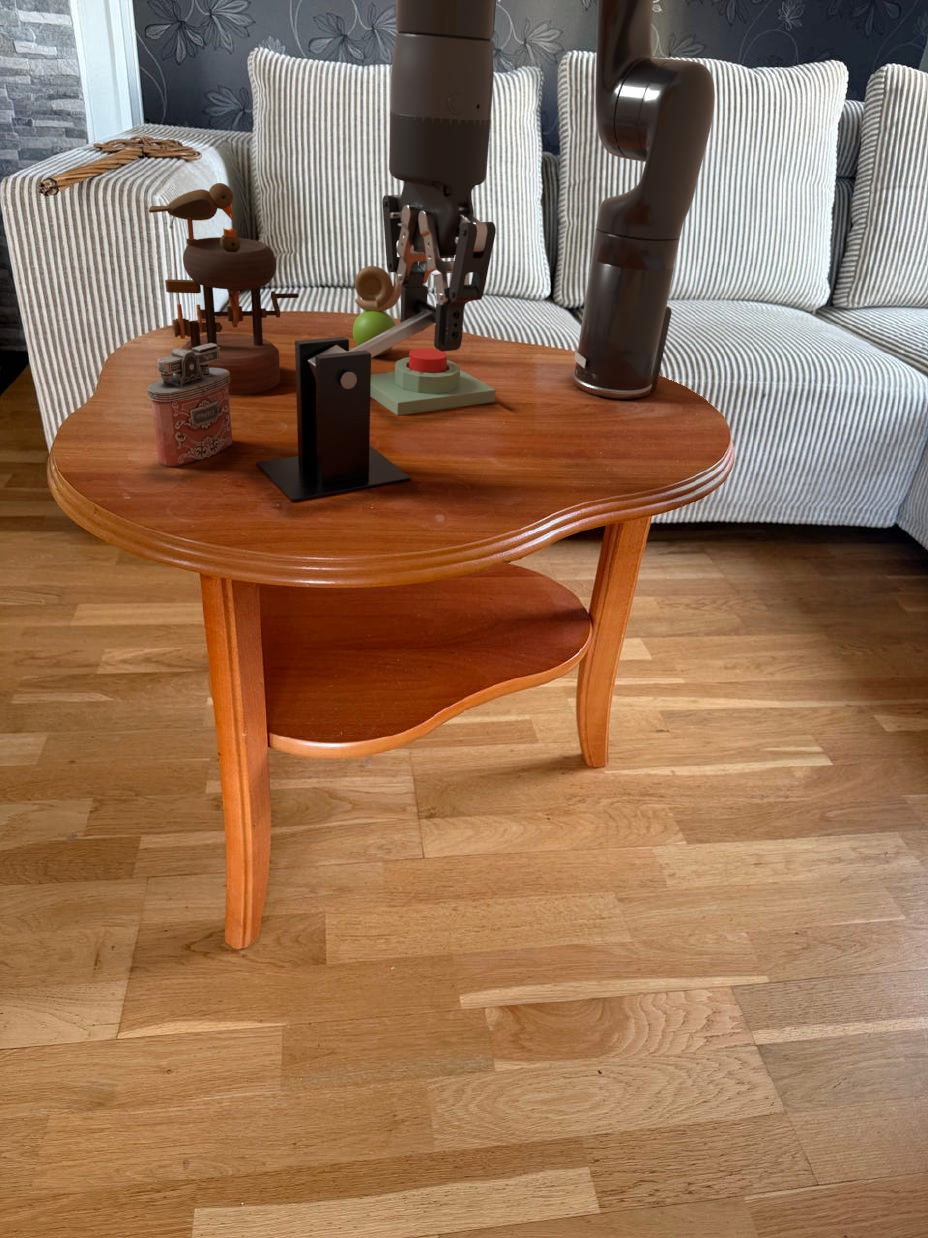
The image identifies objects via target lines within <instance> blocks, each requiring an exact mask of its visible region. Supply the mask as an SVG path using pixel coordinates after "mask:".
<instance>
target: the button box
mask: <svg viewBox="0 0 928 1238" xmlns="http://www.w3.org/2000/svg"><path fill="white" fill-rule="evenodd" d="M496 392H497V390H496V389H495V388H493V387H491V386H489V385H488V384H486V383H485V382H483V381H481V380H479V379H477V378H476V377H474V376H472V375H470V374H469V373H467V372H465V371H464V370H462V369H461V366H460V365H459V364H457V363H455V362H454V361H452V360H448V359H447V367H446V371H445V372H441V373H422V372H418V371H414V370H411V369H409V356H407V357H403V358H401V359H398V360H396V361H395V365H394V371H388V372H380V373H371V392H370V398H372V399H373V400H374V401H376V402H377V403H379V404H381V405H382V406H383V407H385V408H386V409H388V410H389V411H390V412H391V413H393V414H395V415H396V416H403V415H404V416H405V415H411V414H418V413H425V412H432V411H439V410H446V409H454V408H460V407H466V406H474V405H475V406H476V405H482V404H488V403H495V402H496Z"/></svg>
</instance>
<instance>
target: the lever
mask: <svg viewBox="0 0 928 1238" xmlns="http://www.w3.org/2000/svg"><path fill="white" fill-rule="evenodd" d="M413 309H414V312H415V313H416V314H417V315H415V316H413V317H411V318H409V319H407V320H406V321H404V322H402V323H400V322H399V323H398V324H395V325H396V326H394V327H393V328H391V329H389V330H387V331H385V332H383V333H381V334H380V335H378V336H376V337H374V338H372V339H370V340H368V341H366V342H365V343H363V344H361V345H359V346H357V345H356V346H355V347H354V348H353V347H352V348H351V349H349V351H348V352H353V351H363V350H366V351H368V352H369V353H371V359H372V358H374V357H376V355H378V354H380V353H382V352H383V351H385V350H387V349H389V348H391V347H392V348H393V347H394V346H397V345H398V344H400V343H402V342H404V341H405V340H407V339H410V338H411V337H413V336H415V335H416V334H418V333H420V332H423V331H425V330H426V329H428V328H429V327H431V326H433V325H435V317H436V306H435V305H432V304H431V303H428V302H427V303H426V302H424V301H422V300H418V301H417V302H415V304H414V307H413ZM422 330H423V331H422ZM392 348H391V349H392ZM343 352H347V351H345V350H344V349H342V348H341V347H339V346H338V345H335V346H333V347H332V348H330V349H328V350H326V351H324V352H322V353H320V354H318V355H323V354H333V353H343ZM378 356H379V355H378ZM308 363H309V365H310V368H311V370H312V372H313V375H314V377H315V380H316V364H315V357H313V358H311V359H309V360H308Z"/></svg>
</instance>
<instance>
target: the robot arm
mask: <svg viewBox="0 0 928 1238" xmlns="http://www.w3.org/2000/svg"><path fill="white" fill-rule="evenodd" d="M395 1H396V3H395V32H396V33H395V37H394V38H395V39H394V47H393V55H392V60H391V61H392V62H391V73H390V103H389V104H390V106H389V107H390V108H389V109H390V111H389V112H390V113H389V149H388V150H389V151H388V153H389V155H388V171H389V174H390V175H391V177H393V178H394V179H396V180H398V181H402V182H403V187H402V191H401V194H386V195H383V197H382V200H381V201H382V202H381V203H382V204H381V205H382V217H383V235H384V246H385V260H386V269H387V271H388V273H390V274H391V273H395V279H396V278H397V282H398V284H399V285H401V295H400V317H399V318H400V319H399V324H400V323H402V322H404V321H406V320H407V319H409V318H411V317H413V316H415V315H417V314H416V313H415V312H414V309H413V307H414V304H415V302H417V301H418V300H422V301H424V302H426V303H428V291H429V287H428V286H427V285H425V284H426V283H427V282H428V280H429V276H430V275H432V276H433V278H434V287H435V295H436V301H437V303H435V307H436V317H435V324H434V336H433V337H434V339H433V341H434V342H433V346H434V349H437V350H440V351H442V352H451V351H458V350H459V349H460V348H461V345H462V340H463V330H464V316H465V307H466V305H467V304H468V303H469V302H474V301H481V300H482V299H483V296H484V292H485V287H486V283H487V277H488V273H489V267H490V263H491V257H492V254H493V253H492V252H493V249H494V245H495V244H494V243H495V238H496V233H497V230H496V225H495V223H494V222H493V221H481V220H479V219H478V218H477V217H475V209H474V204H473V190H474V188H475V187H476V186H480V185H481V184H483V183H484V182H485V181H486V179H487V172H488V160H489V149H490V148H489V147H490V136H491V132H490V131H491V121H492V119H491V118H492V109H493V107H492V106H493V97H494V95H493V94H494V83H495V82H494V81H495V80H494V79H495V73H494V72H495V70H494V69H495V68H494V66H495V65H494V42H493V41H494V35H495V23H496V22H495V20H496V19H495V18H496V11H497V10H496V9H497V0H395ZM654 1H655V0H597V1H596V3H597V4H596V6H597V9H596V10H597V11H596V12H597V14H596V17H597V18H596V50H595V52H596V53H595V89H594V90H595V94H594V96H595V97H594V99H595V101H594V102H595V105H594V106H595V108H594V109H595V121H596V127H597V133H598V137H599V140H600V142H601V144H602V146H603V148H604V149H605V150H606V152H607V153H609V154H610V155H612V156H614V157H616V158H620V159H626V160H631V161H637V162H643V163H644V166H643V170H642V173H641V177H640V180H639V181H638V183H637V185H636V186H634V187H633V188H632V189H630V190H629V191H627V192H625V193H622V194H617V195H614V196H610V197H607V198H605V199H603V200H602V201H601V203H600V205H599V207H598V212H597V216H596V217H597V218H596V225H595V227H596V228H595V230H594V237H593V243H592V251H591V257H590V264H589V272H588V273H589V274H588V278H587V285H586V293H585V299H584V306H583V312H582V321H581V325H580V332H579V339H578V347H577V350H575V352H574V358H573V360H574V362H575V367H574V370H573V373H572V374H573V375H572V384H573V385H574V386H575V387H576V388H577V389H579V390H581V391H583V392H585V393H588V394H591V395H594V396H597V397H598V396H599V397H603V398H609V399H621V400H630V399H632V400H633V399H640V398H644V397H647V396H648V395H649V394H651V392H652V391H656V390H657V387H658V382H659V377H660V373H661V367H662V363H663V358H664V352H665V349H666V342H667V337H668V333H669V328H670V324H671V323H670V322H671V317H672V313H673V311H672V308H671V307H670V306H668V302H669V296H670V292H671V286H672V280H673V276H674V271H675V265H676V259H677V256H678V255H677V254H678V250H679V244H680V240H681V235H682V231H683V226H684V223H685V221H686V219H687V216H688V214H689V212H690V209H691V206H692V204H693V201H694V197H695V193H696V190H697V186H698V185H697V184H698V180H699V176H700V173H701V170H702V169H701V168H702V165H703V160H704V156H705V152H706V149H707V146H708V141H709V137H710V133H711V128H712V124H713V118H714V111H715V101H716V92H715V83H714V79H713V75H712V73H711V71H710V70H709V68H708V67H707V66H705V64H703V63H701V62H698V61H693V60H686V59H674V58H662V57H654V56H653V50H652V49H653V48H652V19H653V18H652V17H653V7H654ZM399 224H400V225H399ZM443 259H454V260H443ZM470 273H471V274H472V277H471V283H470V281H469V280H470V279H469V274H470ZM448 274H451V278H450V283H449V281H448ZM423 331H424V330H422V331H421V332H423Z"/></svg>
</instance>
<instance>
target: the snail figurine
mask: <svg viewBox="0 0 928 1238" xmlns="http://www.w3.org/2000/svg"><path fill="white" fill-rule="evenodd" d="M354 289H355V292H356V293H357V295H358V296H359V298H355V299H354V303H355V304H356V305H357V306H358V307H359V308H360V309H362V310H363V312H361V313H360V314H358V316H357V317H356V319H355V320H354V322H353V326H352V338H353V340H354V344H355V345H356V347H357V346H359V345H361V344H363V343H365V342H366V341H368V340H370V339H372V338H374V337H376V336H378V335H380V334H381V333H383V332H385V331H387V330H389V329H391V328H393V327H394V326H396V325H397V324H396V322H395V319H394V318H393V317H392V316H391V315H390V314H389V313H387V312H386V311H388V310H390V309H392V308H393V307H395V306H396V304H397V303H398V302H399V300H400V299H401V285H399V284H398V282H397V278H396V277H395V279H394V283H393V281H392V278H391V276H390V275H389V272H387V271H386V270H385V269H383V268H381V267H379V266H377V265H369V266H365V267H363V268H361V269H360V270H359V271H358V273H357V274H356V276H355V279H354ZM392 348H393V347H391V348H389V349H387V350H385V351H383V352H382V353H380V354H378V355H376V356H382V355H384V354H386V353H388V352H389V351H391V349H392ZM376 356H375V357H376Z"/></svg>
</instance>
